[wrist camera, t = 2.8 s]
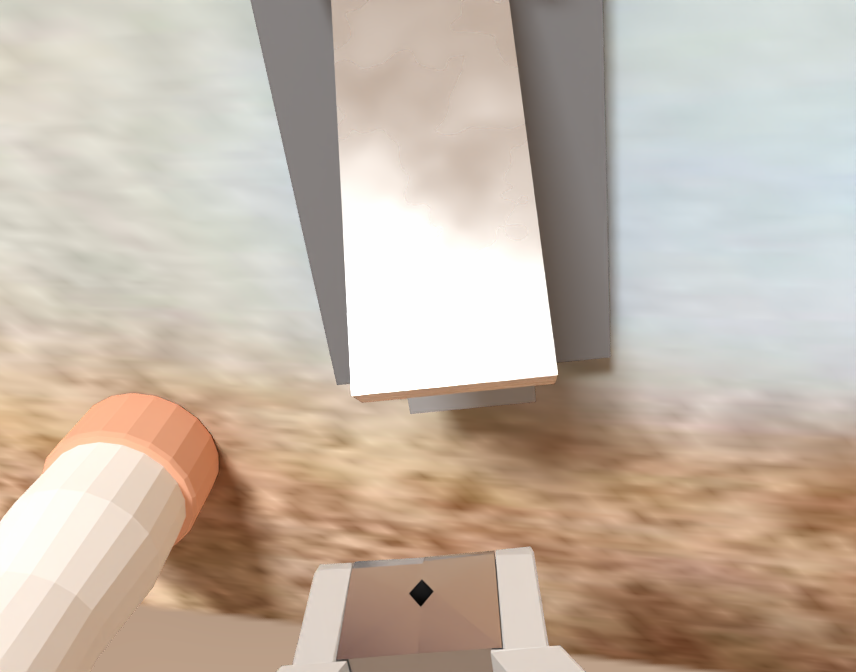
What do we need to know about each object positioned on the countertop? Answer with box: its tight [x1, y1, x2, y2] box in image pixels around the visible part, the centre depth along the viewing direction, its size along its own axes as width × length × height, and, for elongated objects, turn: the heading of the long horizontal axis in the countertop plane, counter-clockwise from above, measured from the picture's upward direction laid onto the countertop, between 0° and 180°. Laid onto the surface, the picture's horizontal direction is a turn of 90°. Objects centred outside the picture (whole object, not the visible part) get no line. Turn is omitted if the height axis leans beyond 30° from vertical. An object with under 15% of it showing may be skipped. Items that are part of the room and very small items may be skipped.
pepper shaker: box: [0, 393, 219, 672], centre depth 26 cm, size 7×7×19 cm
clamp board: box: [251, 0, 610, 414], centre depth 25 cm, size 12×20×5 cm, turn 8°
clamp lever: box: [331, 0, 558, 403], centre depth 19 cm, size 5×17×2 cm
